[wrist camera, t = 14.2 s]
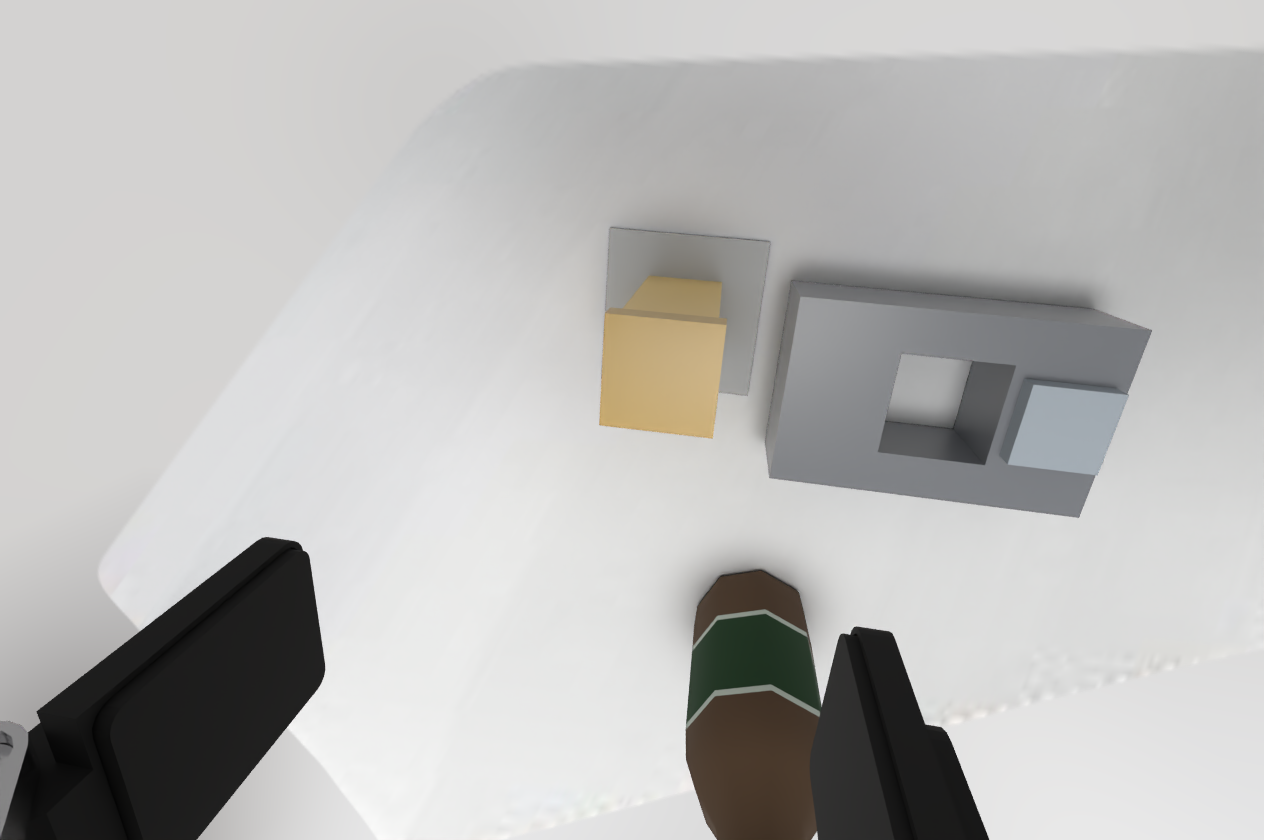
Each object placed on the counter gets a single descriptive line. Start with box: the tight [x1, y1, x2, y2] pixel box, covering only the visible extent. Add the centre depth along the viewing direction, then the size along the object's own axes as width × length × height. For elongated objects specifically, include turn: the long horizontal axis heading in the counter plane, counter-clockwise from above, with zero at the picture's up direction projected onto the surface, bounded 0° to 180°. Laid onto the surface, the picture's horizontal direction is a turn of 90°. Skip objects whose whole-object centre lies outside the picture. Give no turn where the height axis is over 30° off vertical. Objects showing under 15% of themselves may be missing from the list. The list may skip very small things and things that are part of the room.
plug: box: [599, 276, 727, 438], centre depth 31 cm, size 5×5×12 cm
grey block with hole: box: [765, 281, 1152, 518], centre depth 34 cm, size 16×10×6 cm, turn 86°
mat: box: [601, 228, 770, 396], centre depth 37 cm, size 9×9×1 cm
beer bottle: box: [686, 571, 822, 840], centre depth 33 cm, size 8×8×24 cm
